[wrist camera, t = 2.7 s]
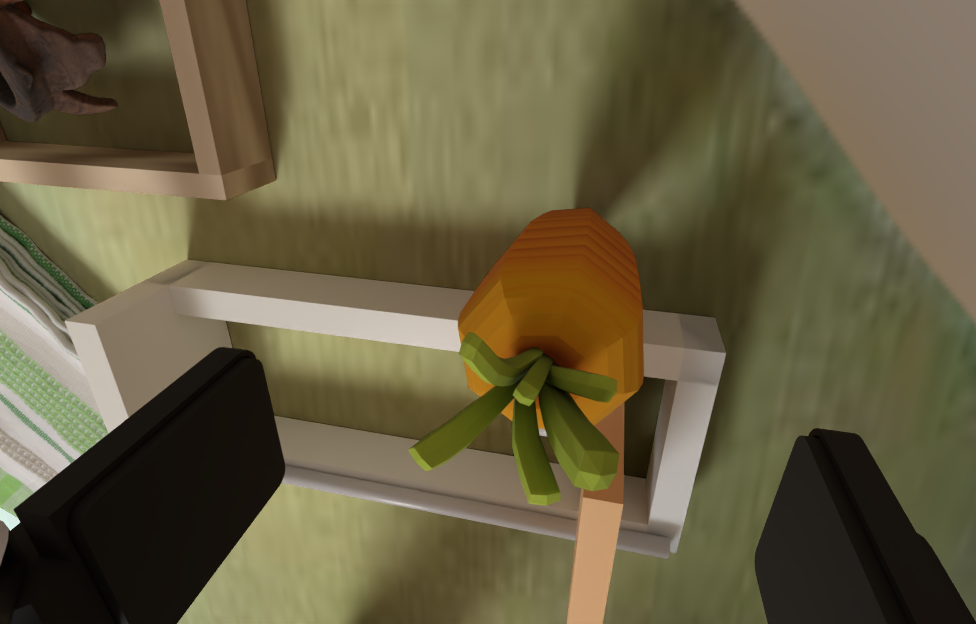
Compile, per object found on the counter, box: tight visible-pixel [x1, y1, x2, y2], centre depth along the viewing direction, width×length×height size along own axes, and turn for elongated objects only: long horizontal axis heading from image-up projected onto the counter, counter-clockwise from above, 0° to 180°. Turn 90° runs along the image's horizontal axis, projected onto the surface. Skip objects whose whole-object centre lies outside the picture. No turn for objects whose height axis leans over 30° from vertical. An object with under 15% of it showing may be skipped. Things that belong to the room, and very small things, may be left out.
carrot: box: [408, 208, 644, 505], centre depth 16 cm, size 5×5×15 cm
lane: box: [65, 260, 726, 559], centre depth 25 cm, size 26×11×7 cm, turn 89°
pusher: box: [539, 402, 624, 624], centre depth 22 cm, size 4×7×9 cm, turn 179°
